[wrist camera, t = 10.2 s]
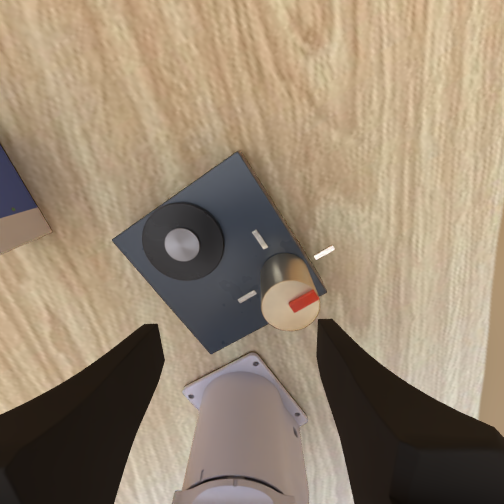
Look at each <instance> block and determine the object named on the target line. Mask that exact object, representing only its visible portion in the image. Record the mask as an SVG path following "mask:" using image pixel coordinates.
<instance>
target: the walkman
mask: <svg viewBox="0 0 504 504" xmlns="http://www.w3.org/2000/svg"><path fill="white" fill-rule="evenodd" d="M49 233H52V230H51V229H50V227H49V225H48V223H47V222H46V220H45V218H44V217H43V215H42V213H41V212H40V210H39V208H38V207H37V205H36V204H35V202H34V200H33V199H32V197H31V195H30V194H29V192H28V190H27V189H26V187H25V185H24V184H23V182H22V180H21V179H20V177H19V175H18V174H17V172H16V170H15V168H14V167H13V165H12V163H11V162H10V160H9V158H8V157H7V155H6V153H5V152H4V150H3V148H2V147H1V145H0V255H1V254H3V253H6V252H8V251H10V250H13V249H15V248H17V247H20V246H22V245H24V244H26V243H29V242H31V241H33V240H36V239H38V238H40V237H43V236H45V235H47V234H49Z"/></svg>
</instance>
